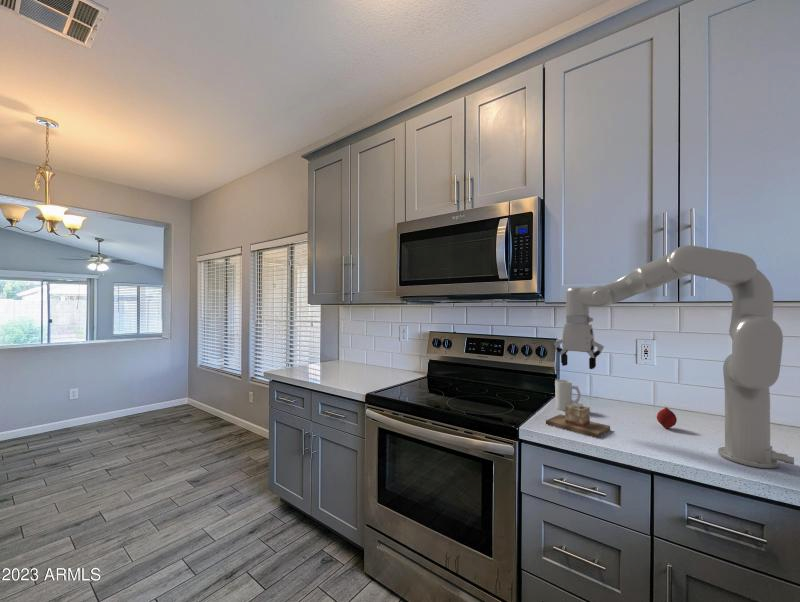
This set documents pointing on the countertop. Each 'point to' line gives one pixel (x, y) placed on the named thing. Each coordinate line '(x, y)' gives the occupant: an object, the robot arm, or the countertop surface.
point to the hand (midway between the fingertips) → (578, 366)
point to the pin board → (589, 430)
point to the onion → (666, 418)
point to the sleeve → (577, 416)
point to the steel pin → (577, 405)
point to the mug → (565, 394)
